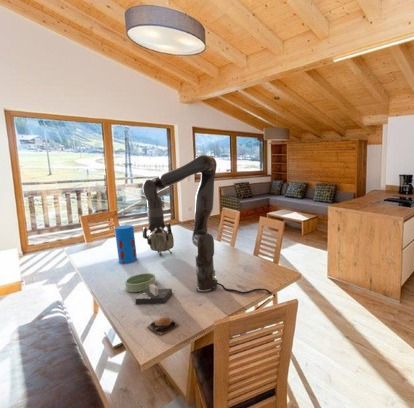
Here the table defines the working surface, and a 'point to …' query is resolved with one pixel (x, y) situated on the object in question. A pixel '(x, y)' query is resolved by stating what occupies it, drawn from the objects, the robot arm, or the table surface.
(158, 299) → the rotary switch dial
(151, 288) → the red tipped lever
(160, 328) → the open sandwich
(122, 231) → the thermos
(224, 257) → the table surface
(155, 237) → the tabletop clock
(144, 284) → the basin
